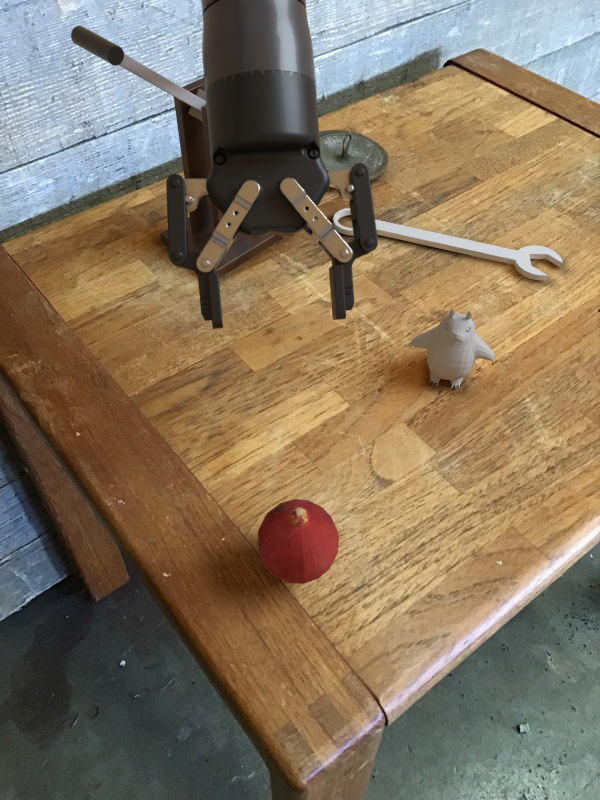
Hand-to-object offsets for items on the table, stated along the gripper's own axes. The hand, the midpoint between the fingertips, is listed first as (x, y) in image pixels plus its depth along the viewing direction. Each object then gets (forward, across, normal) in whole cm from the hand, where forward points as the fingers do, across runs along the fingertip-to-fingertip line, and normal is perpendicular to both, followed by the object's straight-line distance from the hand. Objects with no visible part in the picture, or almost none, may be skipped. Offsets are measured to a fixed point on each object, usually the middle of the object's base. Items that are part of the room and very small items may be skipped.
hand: (279, 323), depth 51 cm
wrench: (-7, +20, +28) cm, 35 cm away
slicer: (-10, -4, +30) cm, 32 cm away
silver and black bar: (-21, -8, +14) cm, 26 cm away
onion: (+18, 0, +2) cm, 18 cm away
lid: (-19, +12, +39) cm, 45 cm away
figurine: (+5, +16, +15) cm, 23 cm away
